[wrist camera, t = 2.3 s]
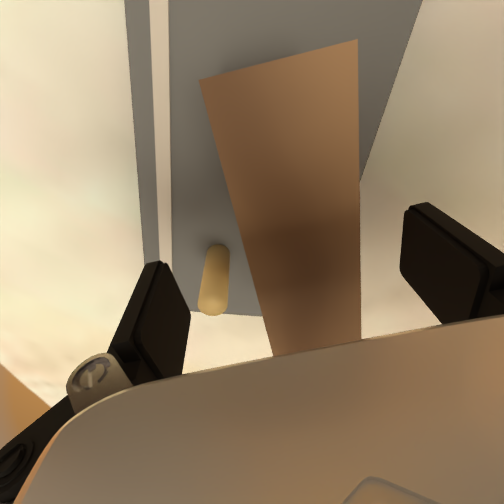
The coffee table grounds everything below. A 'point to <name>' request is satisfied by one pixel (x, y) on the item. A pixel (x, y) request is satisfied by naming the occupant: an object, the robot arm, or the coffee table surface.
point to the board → (199, 128)
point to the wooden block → (296, 189)
